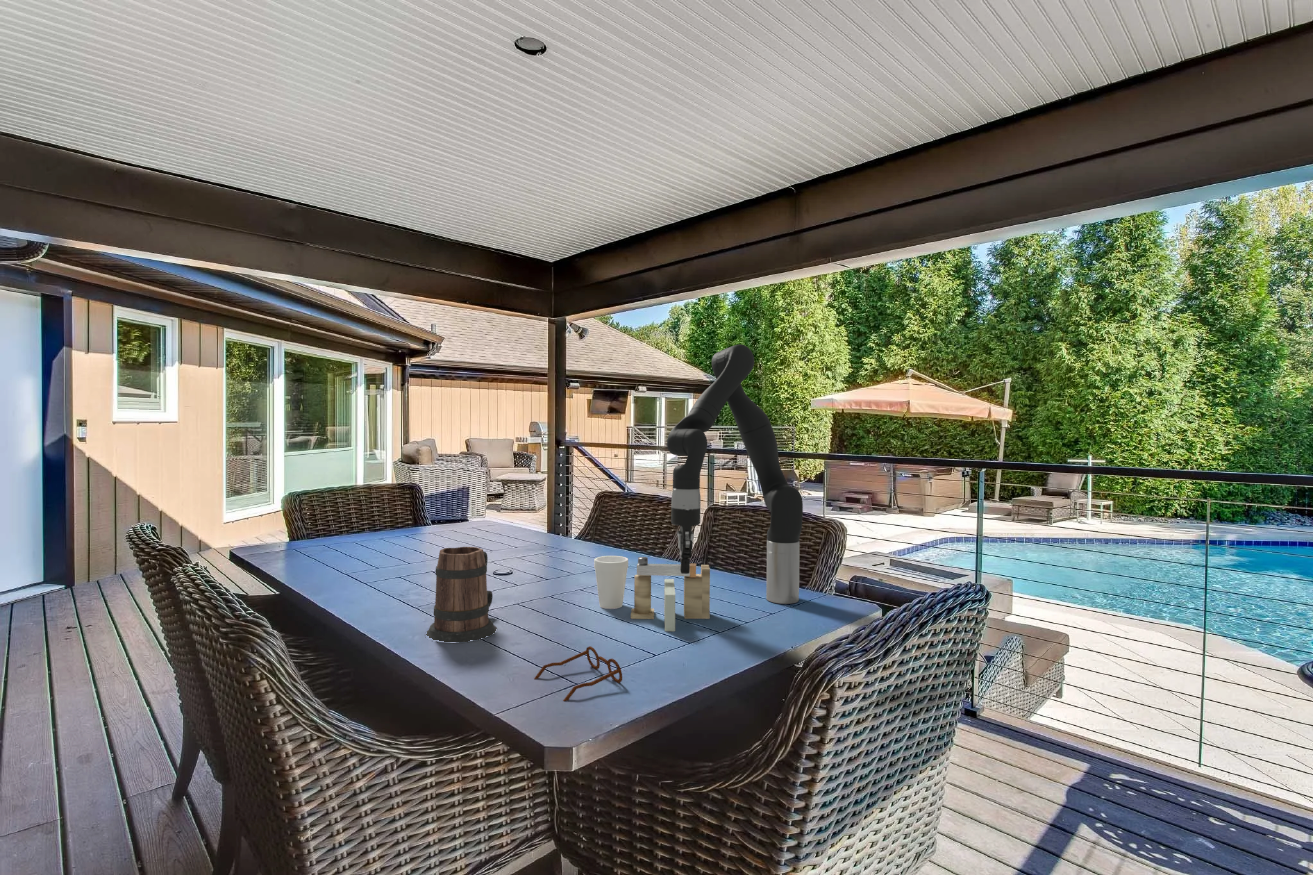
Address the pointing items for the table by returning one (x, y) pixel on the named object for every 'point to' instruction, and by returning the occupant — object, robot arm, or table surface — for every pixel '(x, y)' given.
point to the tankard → (461, 596)
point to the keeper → (697, 595)
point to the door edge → (669, 604)
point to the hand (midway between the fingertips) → (684, 572)
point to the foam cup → (611, 580)
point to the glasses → (610, 674)
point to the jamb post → (642, 598)
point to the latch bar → (662, 569)
